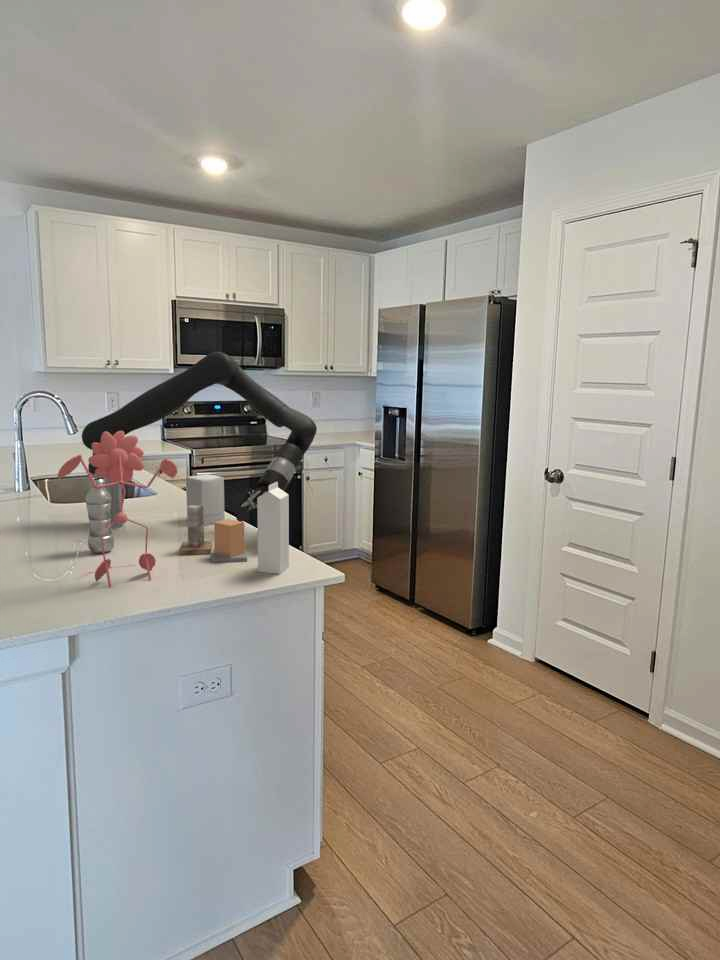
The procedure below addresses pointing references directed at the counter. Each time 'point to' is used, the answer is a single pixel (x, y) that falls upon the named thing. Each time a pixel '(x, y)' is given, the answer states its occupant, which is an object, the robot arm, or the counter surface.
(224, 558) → the mat
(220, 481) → the supplement box
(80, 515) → the counter surface
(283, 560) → the milk
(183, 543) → the post stand
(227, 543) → the tall orange box
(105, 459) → the figurine
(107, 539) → the plastic bottle
